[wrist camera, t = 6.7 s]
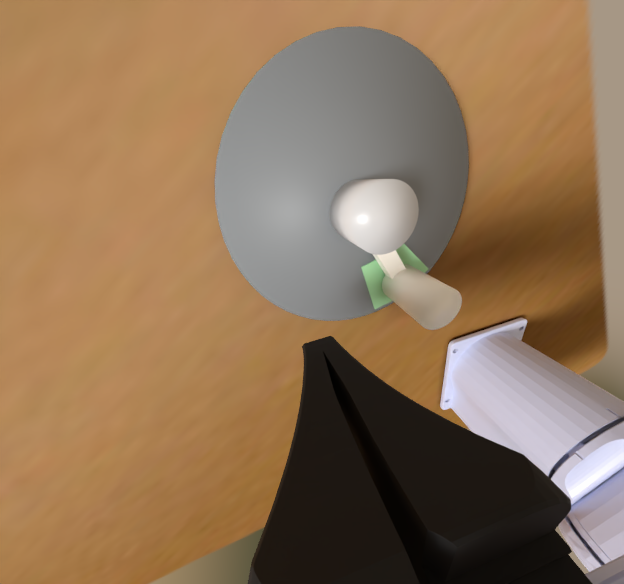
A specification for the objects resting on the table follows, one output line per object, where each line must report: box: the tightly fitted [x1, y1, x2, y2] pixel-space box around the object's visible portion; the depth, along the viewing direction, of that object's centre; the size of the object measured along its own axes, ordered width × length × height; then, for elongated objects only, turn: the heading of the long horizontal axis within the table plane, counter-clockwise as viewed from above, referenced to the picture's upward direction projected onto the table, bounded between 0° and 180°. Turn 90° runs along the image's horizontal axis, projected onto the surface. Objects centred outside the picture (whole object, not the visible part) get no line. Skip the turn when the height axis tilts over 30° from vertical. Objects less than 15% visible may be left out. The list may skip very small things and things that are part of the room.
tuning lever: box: [330, 179, 462, 330], centre depth 12 cm, size 8×3×4 cm, turn 37°
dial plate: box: [215, 27, 469, 321], centre depth 13 cm, size 14×14×1 cm
